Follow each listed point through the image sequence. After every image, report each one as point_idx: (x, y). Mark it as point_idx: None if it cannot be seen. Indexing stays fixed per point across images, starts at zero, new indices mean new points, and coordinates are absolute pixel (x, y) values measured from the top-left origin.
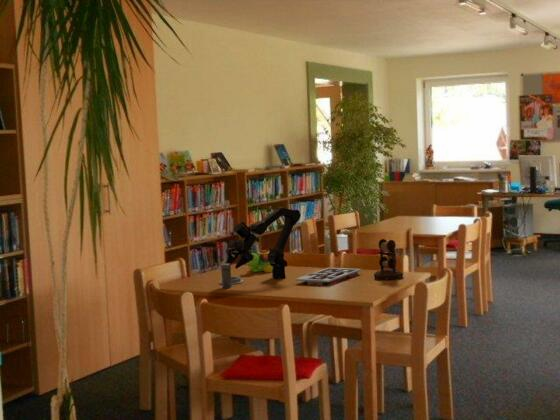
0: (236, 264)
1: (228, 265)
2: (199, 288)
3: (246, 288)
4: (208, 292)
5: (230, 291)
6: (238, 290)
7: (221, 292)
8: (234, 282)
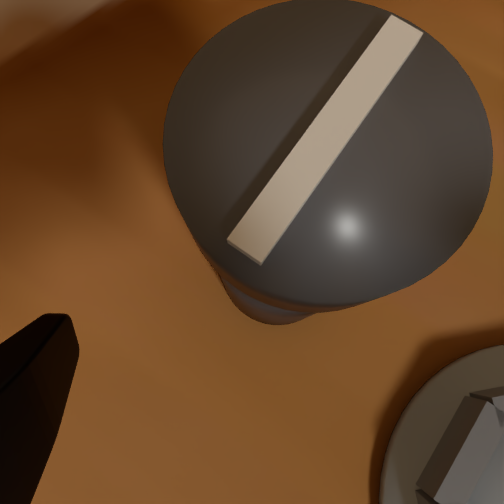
0: (5, 370)
1: (166, 145)
2: (493, 67)
3: None
4: (213, 7)
5: (46, 158)
6: (7, 242)
7: (91, 76)
8: (419, 480)
